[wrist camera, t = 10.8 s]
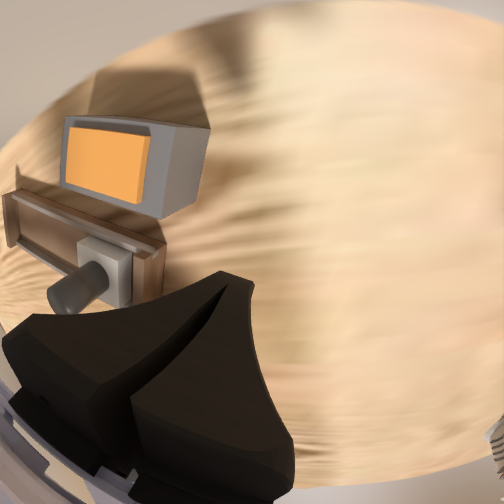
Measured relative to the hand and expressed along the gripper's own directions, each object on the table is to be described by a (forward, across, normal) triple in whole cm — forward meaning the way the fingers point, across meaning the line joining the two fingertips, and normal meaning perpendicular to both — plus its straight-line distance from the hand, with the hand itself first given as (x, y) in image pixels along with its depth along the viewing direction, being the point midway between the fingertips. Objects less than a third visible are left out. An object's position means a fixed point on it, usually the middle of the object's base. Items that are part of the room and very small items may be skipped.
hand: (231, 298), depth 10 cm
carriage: (+9, +13, +8) cm, 18 cm away
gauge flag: (+5, +11, -2) cm, 13 cm away
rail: (+10, +20, +8) cm, 24 cm away
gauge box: (+10, +11, -2) cm, 15 cm away
